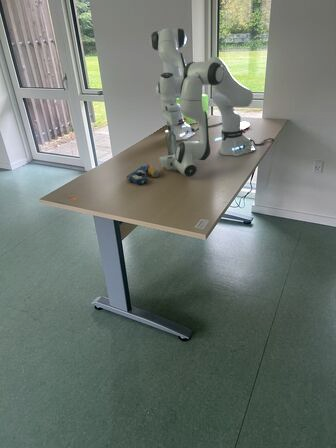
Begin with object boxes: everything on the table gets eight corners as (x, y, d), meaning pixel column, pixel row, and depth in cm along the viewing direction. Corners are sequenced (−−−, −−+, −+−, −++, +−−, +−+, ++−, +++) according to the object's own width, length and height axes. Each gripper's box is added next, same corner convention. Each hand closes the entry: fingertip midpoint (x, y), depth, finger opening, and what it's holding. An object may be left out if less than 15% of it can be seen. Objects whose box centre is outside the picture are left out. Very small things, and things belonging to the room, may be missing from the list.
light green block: (191, 115, 302) (190, 88, 290) (208, 118, 288) (208, 90, 276) (170, 121, 289) (168, 93, 277) (187, 125, 275) (185, 95, 263)
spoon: (243, 140, 236) (243, 137, 234) (228, 139, 239) (228, 137, 238) (251, 123, 262) (251, 121, 261) (237, 123, 266) (237, 120, 264)
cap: (167, 128, 196) (167, 125, 195) (173, 128, 196) (173, 125, 195) (168, 130, 192) (167, 127, 191) (174, 129, 193) (174, 126, 192)
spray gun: (164, 171, 194) (142, 169, 200) (163, 164, 191) (141, 162, 198) (147, 187, 178) (123, 184, 185) (146, 179, 176) (122, 177, 182)
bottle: (179, 163, 204) (177, 127, 192) (171, 165, 202) (168, 129, 190) (175, 160, 208) (172, 125, 197) (167, 162, 206) (164, 127, 195)
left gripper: (158, 102, 195) (160, 126, 202) (168, 109, 178) (170, 134, 185) (169, 100, 196) (170, 124, 203) (180, 107, 179) (181, 133, 186)
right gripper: (196, 153, 192) (187, 146, 204) (163, 159, 187) (155, 152, 199) (197, 163, 196) (188, 156, 207) (164, 170, 191) (156, 162, 202)
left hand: (170, 129), depth 194 cm, fingers closed on cap, 4 cm apart
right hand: (172, 154), depth 203 cm, fingers closed on bottle, 5 cm apart
